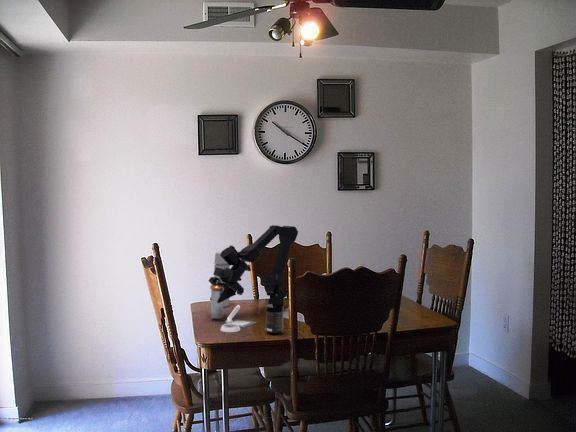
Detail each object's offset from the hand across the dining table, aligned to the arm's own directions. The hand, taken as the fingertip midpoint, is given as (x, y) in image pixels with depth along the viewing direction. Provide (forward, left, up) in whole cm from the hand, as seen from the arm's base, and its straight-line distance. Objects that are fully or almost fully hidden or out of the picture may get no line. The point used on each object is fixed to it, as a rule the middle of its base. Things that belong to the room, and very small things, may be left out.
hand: (214, 301), depth 220 cm
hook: (-8, +15, -8) cm, 19 cm away
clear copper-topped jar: (-1, -1, -7) cm, 7 cm away
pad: (-11, +6, -8) cm, 15 cm away
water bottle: (0, -30, -8) cm, 31 cm away
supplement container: (-25, +19, -8) cm, 32 cm away
